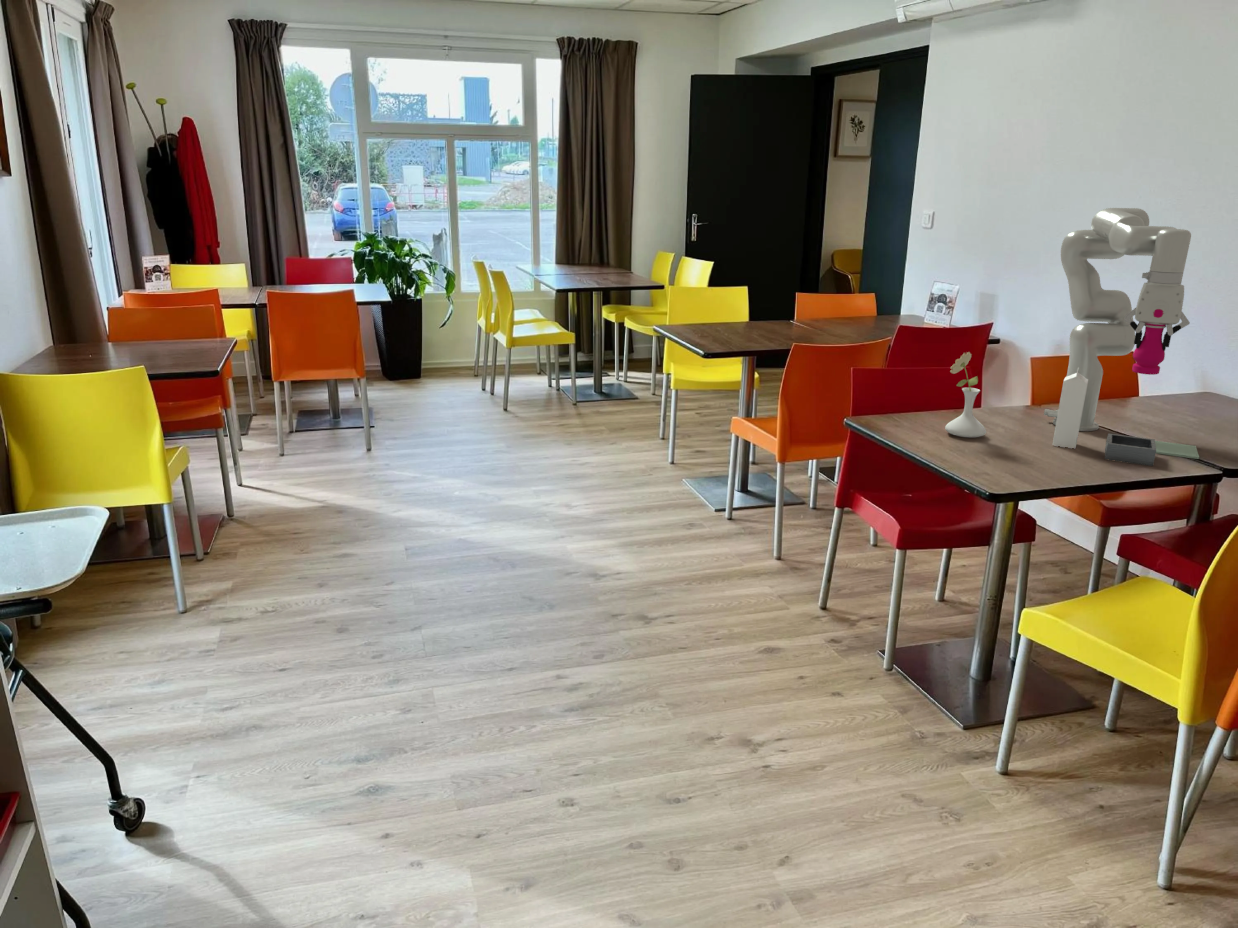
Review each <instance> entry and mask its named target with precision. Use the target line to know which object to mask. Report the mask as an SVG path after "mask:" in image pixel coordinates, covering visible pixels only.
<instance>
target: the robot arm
mask: <svg viewBox="0 0 1238 928" xmlns="http://www.w3.org/2000/svg"><path fill="white" fill-rule="evenodd" d="M1090 223H1091V229H1078V230H1074V231H1072V232H1069V233H1067V235H1066V236H1065V237H1064V238H1063V240H1062V243H1061V247H1060V262H1061V266H1062V268H1063V271H1064V273H1065V276H1066V278H1067V283H1068V288H1069V289H1068V292H1069V297H1070V298H1069V300H1070V307H1071V312H1072V316H1073V318H1074V319H1075V320H1076V321H1079V322H1085V323H1081V324H1078V325H1076V326H1074V327H1073V328H1072V330H1071V331H1070V335H1069V359H1068V367H1067V373H1066V377H1067V376H1070V375H1072V374H1075V373H1077V370H1078V373H1079V374H1081V375H1082V376H1084V377H1085V378H1086V379H1088V384H1087V390H1086V395H1085V401H1084V406H1083V412H1082V417H1081V422H1080V428H1079V432H1093V431H1097V430H1098V429H1099V428H1100V424H1098V422H1096V421H1095V418H1096V411H1097V407H1098V403H1099V396H1100V389H1101V385H1102V381H1103V375H1104V370H1103V369H1104V368H1103V366H1102V364H1101V362H1100V361H1099V358H1098V357H1100V356H1108V357H1109V356H1111V357H1113V356H1114V357H1115V356H1117V357H1118V356H1119V357H1120V356H1126V355H1129V354H1130V353H1131V352H1132V351H1133V350H1134V348H1135V349H1136V348H1139V347H1140V343H1141V340H1142V338H1143V332H1142V331H1143V328H1144V325H1145V323H1158V324H1166V332H1165V334H1164V335H1163V338H1162V343H1163V348H1162V349H1163V351H1166V348H1170V343H1171V338H1172V336H1173V334H1176V333H1177V332H1179V331H1180V330H1181V329H1183V328H1186V327H1187V326H1189V325H1190V321H1189V319H1188V318H1187V317H1186V315H1185V314H1184V312H1183V305H1184V300H1185V299H1184V298H1185V285H1184V284H1182V283H1183V281H1182V280H1183V277H1184V271H1185V267H1186V263H1187V259H1188V253H1189V248H1190V244H1191V239H1192V233H1191V232H1190V230H1187V229H1184V228H1182V229H1181V228H1176V227H1173V226H1162V225H1161V226H1159V225H1155V226H1154V225H1150V217H1149V214H1148V213H1147V212H1146V211H1145V210H1144V209H1142V208H1139V207H1136V208H1135V207H1134V208H1133V207H1131V208H1130V207H1110V208H1109V207H1107V208H1104V209H1101V210H1099V211H1098V212H1096V213H1095V215H1094V216H1093V218H1092V219H1091V222H1090ZM1125 255H1126V256H1144V257H1146V256H1148V257H1149V256H1150V257H1152V258H1151V263H1150V267H1149V271H1147V272H1142V276H1141V278H1142V279H1144V280H1147V281H1146V282H1144V283H1143V285H1142V287H1141V289H1140V293H1139V296H1138V299H1137V303H1136V307H1134V308H1133V307H1132V303H1131V298H1130V296H1128V294H1127V293H1126V292H1124V291H1123V290H1117V289H1116V290H1115V289H1104V288H1102V283H1101V278H1100V277H1101V276H1100V274H1099V272H1098V270H1097V269H1096V268H1095V266H1094V265H1093V264H1091V262H1089V261H1088V260H1116V259H1120V258H1122V257H1124V256H1125ZM1132 308H1133V309H1132ZM1156 309H1161V310H1163V313H1164V314H1163V315H1162V317H1160V318H1156V317H1154V315H1153V314H1154V313H1153V312H1155V310H1156ZM1134 319H1135V320H1136V321H1137V322H1138V323H1137V322H1136V321H1135V320H1134ZM1180 320H1181V322H1180ZM1173 325H1175V326H1173ZM1078 368H1079V369H1078ZM1058 410H1059V409H1056V410H1054V409H1053V410H1052V409H1048V408H1045V409H1044V412H1043V416H1047V417H1049V418H1053V420H1052V423H1053V425H1055V426H1056V421H1057V416H1058Z"/></svg>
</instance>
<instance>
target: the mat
mask: <svg viewBox="0 0 1238 928" xmlns="http://www.w3.org/2000/svg"><path fill="white" fill-rule="evenodd" d="M1155 444H1156V454H1158V455H1165V456H1171V457H1173V456H1174V457H1180V458H1189V459H1193V460H1194V459H1195V460H1199V459H1200V455H1199V452H1198V449H1197V445H1190V444H1184V443H1183V444H1182V443H1175V442H1168V441H1159V440H1155ZM1156 454H1155V455H1156Z"/></svg>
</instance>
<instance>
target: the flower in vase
mask: <svg viewBox="0 0 1238 928" xmlns="http://www.w3.org/2000/svg"><path fill="white" fill-rule="evenodd" d="M972 355H973V354H972V353H971V352H970V351H968V352H967V351H966V352H963V354H962V355H960V358H957V359H955V361H954V362H955V363H953V364H952V366H950V369H951V370H950V371H949V372H950V373H951V374H953V375H954V374H957V373H960V371H962V370H963V369H964V371H965V375H966V379H962V380H960V381H958V383H957V384H956V387H961V390H962V392H963V394H964V395H963V396H964V408H963V412H962V413H961V415H959V416H958V417H956V418H954V419H952V420H950V421H949V422H948V423H947V424H946V425H945V426H944V428H945V431H946V432H947V433H949V434H951V435H953V436H955V437H962V438H980V437H983V436H984V435H986V433H987V430H986V427H985V425H983V424H982V423H981V422H980V421H979V420H978V419H977V418H976V417H975V416H974V413H973V409H974V403H975V400H976V398H977V395H978V394H979V393H980V392H981V390H980V389H978V388H975V387H973V386H975V385H977V384H978V382H979V378H978V375H977V376H974V377H972V378H970V379H969V377H968V371H967V369H966V366H967V365H968V364H969V361H971V358H972ZM966 384H967V385H968V387H963V386H964V385H966Z"/></svg>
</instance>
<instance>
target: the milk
mask: <svg viewBox="0 0 1238 928" xmlns="http://www.w3.org/2000/svg"><path fill="white" fill-rule="evenodd" d="M1078 369H1079V368H1078ZM1087 384H1088V379H1086V378H1085V377H1084V376H1082V375H1081V374H1079V373H1078V370H1077V373H1075V374H1072V375H1070V376H1067V375H1066V376H1065V377H1064V379H1063V383H1062V388H1061V393H1060V398H1059V404H1058V409H1057V410H1058V416H1057V421H1056V425H1055V428H1054V434H1053V439H1052V445H1054V446H1053V447H1058V446H1060V447H1059V448H1065V447H1068V448H1067V449H1072V448H1074V449H1073V450H1075V449H1076V447H1077V443H1078V438H1079V433H1080V431H1079V428H1080V422H1081V417H1082V412H1083V406H1084V401H1085V395H1086V390H1087Z"/></svg>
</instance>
